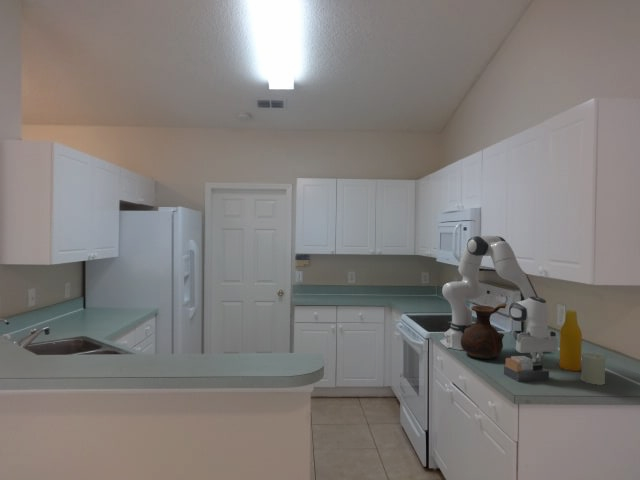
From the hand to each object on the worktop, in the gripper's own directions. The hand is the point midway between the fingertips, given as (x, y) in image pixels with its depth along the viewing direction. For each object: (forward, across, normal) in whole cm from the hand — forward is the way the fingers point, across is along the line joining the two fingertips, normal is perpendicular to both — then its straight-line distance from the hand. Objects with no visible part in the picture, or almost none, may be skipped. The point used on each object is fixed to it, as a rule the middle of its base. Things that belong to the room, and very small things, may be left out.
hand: (536, 361), depth 188 cm
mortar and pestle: (+7, +34, +52) cm, 63 cm away
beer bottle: (+7, +26, +7) cm, 28 cm away
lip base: (+7, -5, 0) cm, 9 cm away
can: (+7, +22, -10) cm, 25 cm away
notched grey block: (+3, -8, 0) cm, 8 cm away
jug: (+7, -7, +33) cm, 34 cm away
